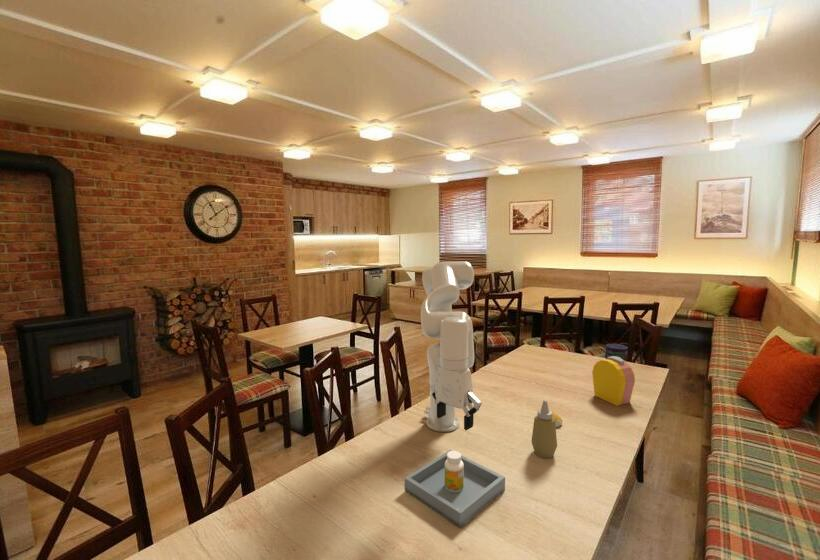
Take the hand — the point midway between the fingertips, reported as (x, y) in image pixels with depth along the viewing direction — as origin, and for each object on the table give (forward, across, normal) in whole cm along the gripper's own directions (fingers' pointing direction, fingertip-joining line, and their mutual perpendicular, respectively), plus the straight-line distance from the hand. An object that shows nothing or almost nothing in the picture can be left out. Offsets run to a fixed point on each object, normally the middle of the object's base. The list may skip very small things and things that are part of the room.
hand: (454, 422), depth 108 cm
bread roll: (+21, +1, +56) cm, 60 cm away
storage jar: (+21, +1, +126) cm, 127 cm away
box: (+20, 0, 0) cm, 20 cm away
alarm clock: (+21, +10, +95) cm, 97 cm away
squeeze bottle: (+21, +9, +35) cm, 41 cm away
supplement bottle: (+19, 0, 0) cm, 19 cm away
